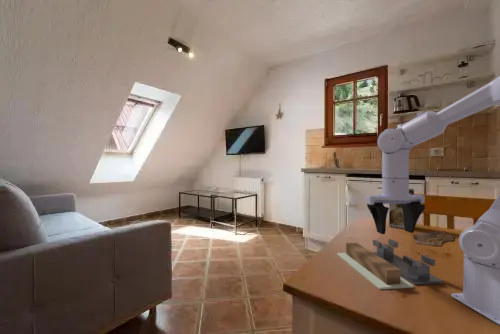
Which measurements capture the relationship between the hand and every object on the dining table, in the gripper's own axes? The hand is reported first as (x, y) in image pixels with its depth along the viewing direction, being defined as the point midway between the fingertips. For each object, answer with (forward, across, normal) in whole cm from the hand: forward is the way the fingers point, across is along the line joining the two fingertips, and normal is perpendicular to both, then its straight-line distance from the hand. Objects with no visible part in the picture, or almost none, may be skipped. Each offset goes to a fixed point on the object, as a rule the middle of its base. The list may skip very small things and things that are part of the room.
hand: (395, 232), depth 60 cm
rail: (+9, +5, -2) cm, 11 cm away
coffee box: (+10, -33, -39) cm, 52 cm away
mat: (+10, +5, -2) cm, 11 cm away
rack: (+10, -3, -2) cm, 11 cm away
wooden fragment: (+10, -34, -24) cm, 42 cm away
